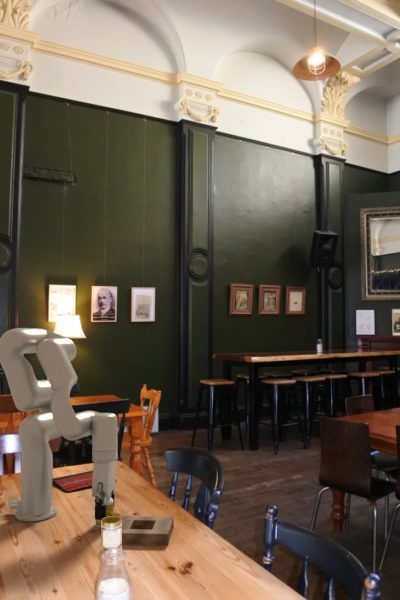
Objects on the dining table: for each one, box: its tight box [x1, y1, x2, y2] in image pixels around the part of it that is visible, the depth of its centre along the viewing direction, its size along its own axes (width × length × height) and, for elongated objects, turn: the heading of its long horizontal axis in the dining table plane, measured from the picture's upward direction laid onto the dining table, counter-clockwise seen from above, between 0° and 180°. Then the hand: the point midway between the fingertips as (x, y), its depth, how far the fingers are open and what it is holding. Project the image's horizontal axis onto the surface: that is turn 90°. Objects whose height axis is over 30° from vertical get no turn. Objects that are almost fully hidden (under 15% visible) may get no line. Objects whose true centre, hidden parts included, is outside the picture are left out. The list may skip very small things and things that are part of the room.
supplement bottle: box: [95, 493, 115, 529], centre depth 144 cm, size 5×5×10 cm
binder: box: [52, 470, 117, 494], centre depth 185 cm, size 16×2×21 cm
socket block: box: [119, 515, 175, 546], centre depth 136 cm, size 16×12×3 cm
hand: (104, 513), depth 144 cm, fingers open, 9 cm apart
